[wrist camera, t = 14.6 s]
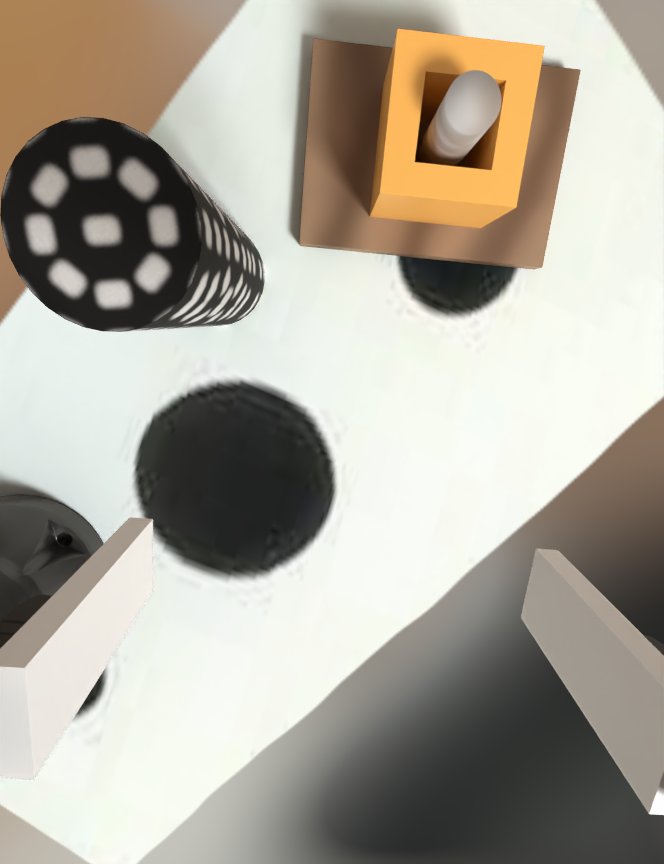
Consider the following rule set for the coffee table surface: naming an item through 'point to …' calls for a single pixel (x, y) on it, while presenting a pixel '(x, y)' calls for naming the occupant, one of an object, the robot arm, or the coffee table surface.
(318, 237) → the post board
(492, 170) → the collar
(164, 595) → the coffee table surface
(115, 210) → the white-spotted black cylinder
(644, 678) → the robot arm
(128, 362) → the coffee table surface
